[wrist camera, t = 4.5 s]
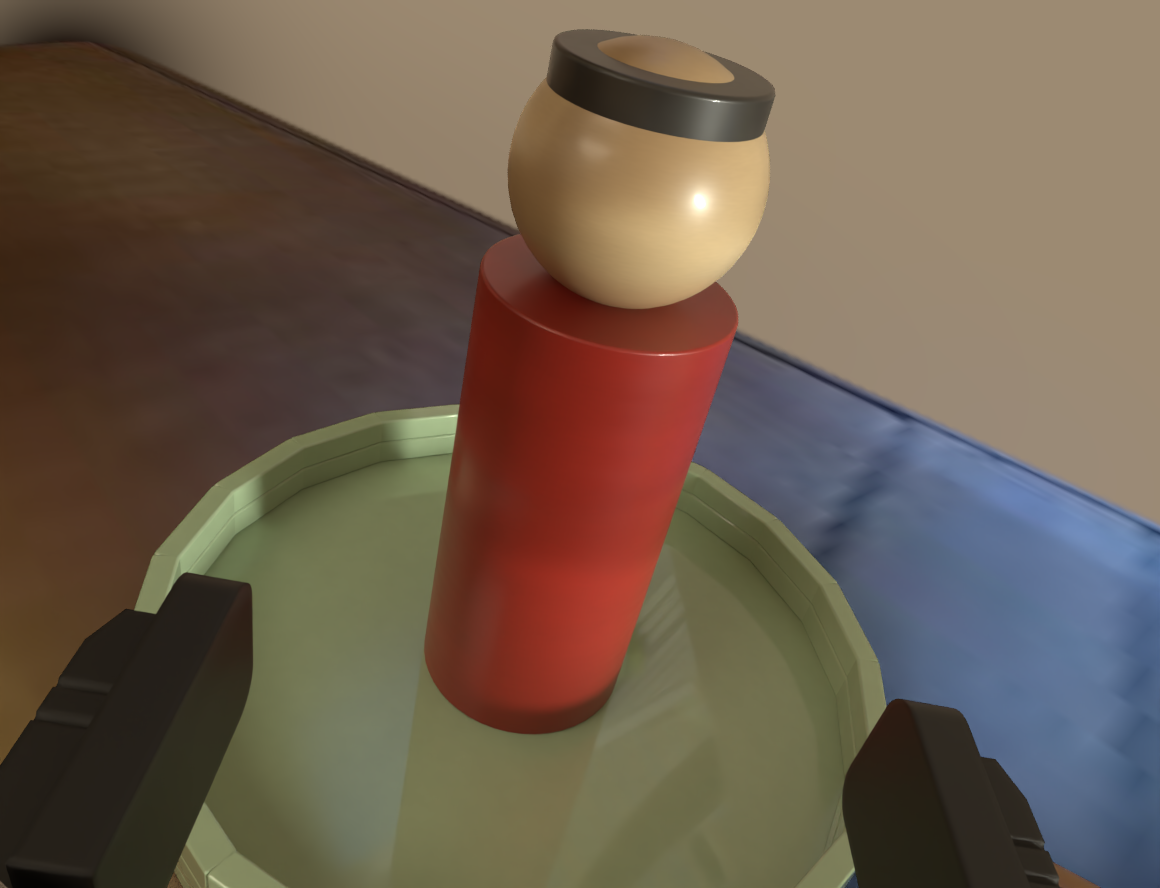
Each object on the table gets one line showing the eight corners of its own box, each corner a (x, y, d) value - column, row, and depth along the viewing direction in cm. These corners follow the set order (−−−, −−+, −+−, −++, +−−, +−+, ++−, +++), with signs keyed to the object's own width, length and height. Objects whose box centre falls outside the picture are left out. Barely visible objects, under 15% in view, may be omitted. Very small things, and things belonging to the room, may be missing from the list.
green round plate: (-64, 731, 18) (-87, 665, 17) (434, 394, 31) (440, 345, 30) (723, 1316, 13) (766, 1278, 12) (910, 621, 26) (939, 573, 25)
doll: (382, 667, 21) (456, 5, 13) (491, 556, 24) (602, -7, 16) (561, 773, 19) (770, 108, 11) (647, 639, 23) (850, 70, 15)
